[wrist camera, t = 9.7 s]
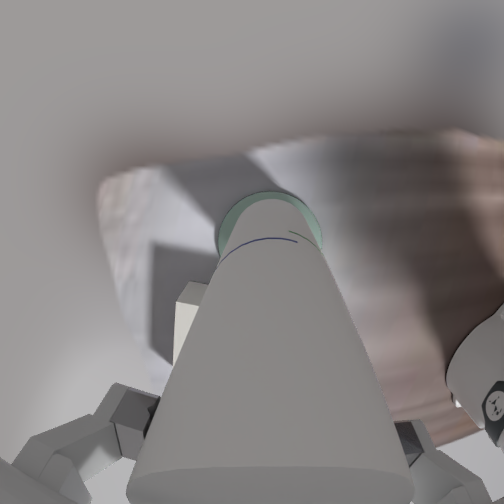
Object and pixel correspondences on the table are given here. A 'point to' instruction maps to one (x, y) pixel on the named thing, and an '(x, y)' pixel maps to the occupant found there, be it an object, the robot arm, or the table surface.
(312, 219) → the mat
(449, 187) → the table surface
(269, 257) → the cylindrical container
